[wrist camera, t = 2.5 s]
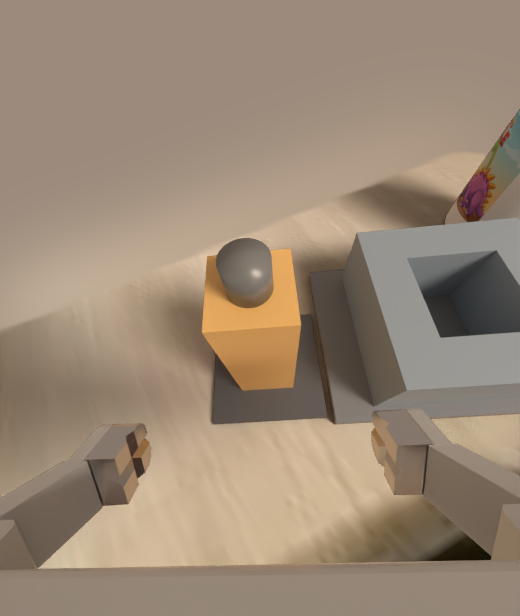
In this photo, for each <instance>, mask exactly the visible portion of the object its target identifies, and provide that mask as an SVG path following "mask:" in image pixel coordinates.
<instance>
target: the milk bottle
mask: <svg viewBox="0 0 520 616" xmlns="http://www.w3.org/2000/svg"><path fill="white" fill-rule="evenodd" d="M508 218H518V219H519V221H520V109H519V111H518V112H517V113H516V115H515V116H514V118H513V119H512V120H511V122H510V123H509V124H508V126H507V127H506V129H505V130H504V132H503V133H502V135H501V136H500V137H499V139H498V140H497V142H496V143H495V145H494V146H493V147H492V149H491V150H490V152H489V153H488V155H487V156H486V158H485V159H484V160H483V162H482V163H481V165H480V166H479V168H478V169H477V171H476V172H475V174H474V175H473V176H472V178H471V179H470V181H469V182H468V184H467V185H466V187H465V188H464V190H463V191H462V193H461V194H460V196H459V197H458V198H457V200H456V201H455V203H454V204H453V206H452V207H451V209H450V211H449V212H448V214H447V215H446V218H445V224H456V223H466V222H477V221H487V220H498V219H508Z"/></svg>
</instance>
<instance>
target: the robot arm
mask: <svg viewBox="0 0 520 616" xmlns="http://www.w3.org/2000/svg"><path fill="white" fill-rule="evenodd" d="M372 423H373V425H374V426H375V428H374V429H373V431H372V432H371V441H372V447H373V451H374V454H375V457H376V459H377V461H378V463H379V464H381V465H382V466H383V467H384V476H385V478H386V480H387V482H388V484H389V486H390V488H391V490H392V492H393V494H394V495H424V497H425V498H426V499H427V500H428V501H429V502H430V503H432V504H433V505H434V506H435V507H436V508H437V509H438V510H440V511H441V512H442V513H443V514H444V515H445V516H446V517H448V518H449V519H450V520H451V521H452V522H453V523H454V524H456V525H457V526H458V527H459V528H460V529H461V530H462V531H464V532H465V533H466V534H467V535H468V536H469V537H470V538H472V539H473V540H474V541H475V542H476V543H477V544H478V545H480V546H481V547H482V548H483V549H484V550H485V551H486V552H488V553H489V554H490V555H491V556H492V558H491V560H479V561H425V562H374V563H326V564H277V565H223V566H168V567H116V568H64V569H38V568H39V567H40V566H41V565H42V564H43V563H44V562H45V561H46V560H48V559H49V558H50V557H51V556H52V555H53V554H54V553H55V552H56V551H57V550H58V549H59V548H60V547H61V546H62V545H63V544H64V543H65V542H67V541H68V540H69V539H70V538H71V537H72V536H73V535H74V534H75V533H76V532H77V531H78V530H79V529H80V528H81V527H82V526H83V525H85V524H86V523H87V522H88V521H89V520H90V519H91V518H92V517H93V516H94V515H95V514H96V513H97V512H98V511H99V510H100V509H101V508H102V506H108V505H123V504H129V502H130V500H131V498H132V496H133V494H134V493H135V491H136V489H137V487H138V485H139V483H138V478H139V477H140V476H141V475H143V474H144V473H145V472H146V470H147V468H148V466H149V462H150V458H151V447H150V443H149V442H148V441H147V440H146V439H145V438H144V437H145V436H146V434H147V431H146V428H145V425H143V424H141V423H139V424H115V425H114V424H112V425H101V426H99V427H98V428H97V429H96V430H95V431H94V432H93V433H92V434H91V435H90V436H89V438H88V439H87V440H86V441H85V442H84V443H83V444H82V445H81V446H80V447H79V449H78V450H77V451H76V452H75V453H74V454H73V455H72V456H71V457H70V459H69V460H68V461H67V462H61V463H59V464H58V465H56V466H54V467H53V468H51V469H49V470H48V471H46V472H44V473H43V474H41V475H39V476H37V477H36V478H34V479H32V480H31V481H29V482H27V483H26V484H24V485H22V486H21V487H19V488H17V489H16V490H14V491H12V492H11V493H9V494H7V495H5V496H4V497H2V498H0V616H520V476H519V475H517V474H515V473H513V472H511V471H509V470H507V469H505V468H503V467H502V466H500V465H498V464H496V463H494V462H492V461H490V460H488V459H486V458H484V457H482V456H480V455H478V454H476V453H474V452H473V451H471V450H469V449H467V448H465V447H463V446H461V445H459V444H452V443H451V442H450V441H449V439H448V438H447V437H446V436H445V435H444V434H443V433H442V432H441V430H440V429H439V428H438V427H437V426H436V425H435V424H434V423H433V421H432V420H431V419H430V418H429V417H428V416H427V415H426V414H425V412H424V411H423V410H422V409H420V408H408V409H401V410H384V411H373V413H372Z"/></svg>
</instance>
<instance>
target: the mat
mask: <svg viewBox="0 0 520 616" xmlns="http://www.w3.org/2000/svg"><path fill="white" fill-rule="evenodd" d="M300 320H301V330H300V338H299V346H298V354H297V361H296V369H295V377H294V385H293V388H278V389H262V390H247V391H242V389H241V388H240V386H239V385H238V384H237V382H236V381H235V379H234V378H233V377H232V375H231V374H230V372H229V371H228V369H227V368H226V367H225V365H224V364H223V362H222V361H221V360H220V358H219V357H218V355H217V354H216V358H215V382H214V406H213V424H228V423H245V422H262V421H279V420H296V419H314V418H327V417H328V416H327V410H326V404H325V398H324V391H323V385H322V379H321V373H320V367H319V361H318V354H317V348H316V342H315V336H314V330H313V324H312V317H311V314H310V315H300Z"/></svg>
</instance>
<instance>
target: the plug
mask: <svg viewBox="0 0 520 616" xmlns="http://www.w3.org/2000/svg"><path fill="white" fill-rule="evenodd" d="M300 330H301V320H300V313H299V306H298V299H297V291H296V284H295V277H294V269H293V262H292V255H291V249H281V250H269V248H268V247H267V246H266V245H265V244H264V243H262V242H261V241H259V240H256V239H251V238H242V239H237V240H234V241H232V242H229V243H228V244H226V245H225V246H224V247H223V248H222V249H221V250H220V251H219V253H218V255H216V256H207V266H206V280H205V294H204V307H203V321H202V334H203V335H204V337H205V338H206V340H207V341H208V342H209V344H210V345H211V347H212V348H213V350H214V351H215V352H216V354H217V355H218V357H219V358H220V360H221V361H222V362H223V364H224V365H225V367H226V368H227V369H228V371H229V372H230V374H231V375H232V377H233V378H234V379H235V381H236V382H237V384H238V385H239V386H240V388H241V389H242V391H247V390H262V389H278V388H293V385H294V377H295V369H296V361H297V354H298V346H299V338H300Z"/></svg>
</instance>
